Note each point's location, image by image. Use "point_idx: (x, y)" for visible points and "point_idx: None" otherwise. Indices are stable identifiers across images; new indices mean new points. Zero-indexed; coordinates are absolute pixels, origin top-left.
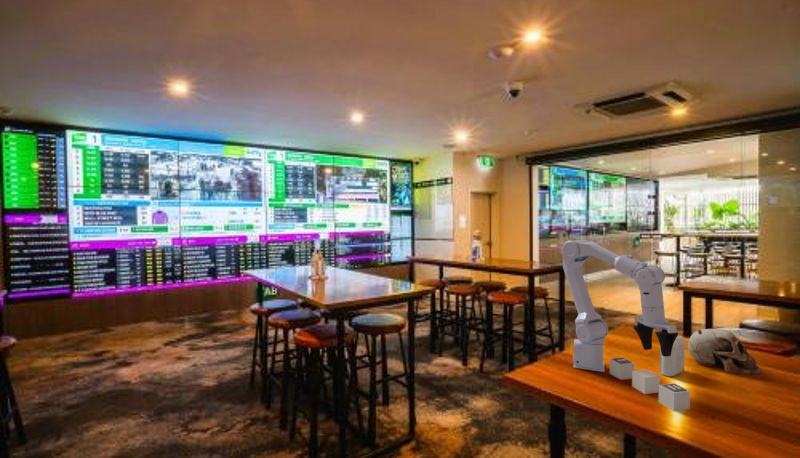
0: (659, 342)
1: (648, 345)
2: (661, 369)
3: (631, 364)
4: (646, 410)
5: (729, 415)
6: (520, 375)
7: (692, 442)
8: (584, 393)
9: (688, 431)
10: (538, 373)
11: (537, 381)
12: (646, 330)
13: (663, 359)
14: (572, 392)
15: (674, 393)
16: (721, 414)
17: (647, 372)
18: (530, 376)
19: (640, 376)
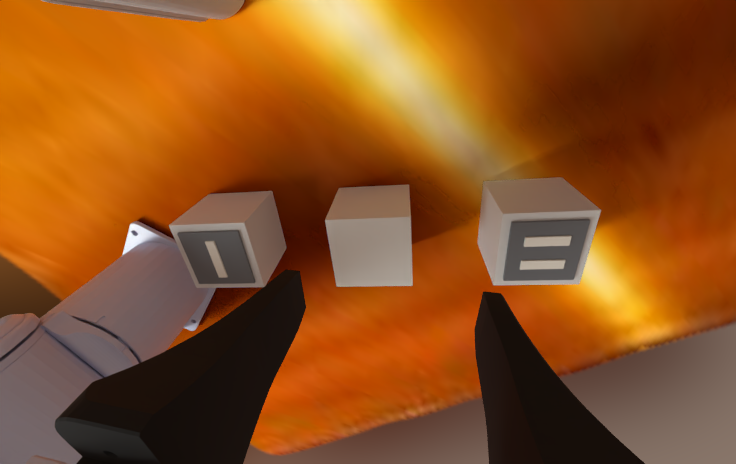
0: (489, 450)
1: (290, 308)
2: (200, 16)
3: (250, 235)
4: (512, 311)
5: (687, 44)
6: (265, 440)
7: (703, 320)
8: (378, 382)
9: (661, 290)
10: None
11: (300, 428)
12: (216, 432)
13: (171, 9)
14: (368, 400)
15: (579, 281)
16: (660, 78)
17: (361, 241)
18: (270, 428)
19: (385, 282)
